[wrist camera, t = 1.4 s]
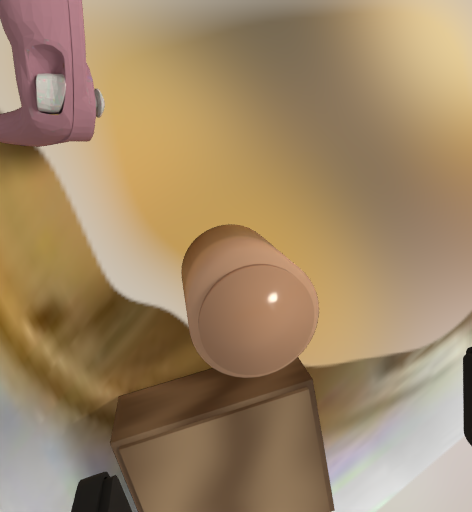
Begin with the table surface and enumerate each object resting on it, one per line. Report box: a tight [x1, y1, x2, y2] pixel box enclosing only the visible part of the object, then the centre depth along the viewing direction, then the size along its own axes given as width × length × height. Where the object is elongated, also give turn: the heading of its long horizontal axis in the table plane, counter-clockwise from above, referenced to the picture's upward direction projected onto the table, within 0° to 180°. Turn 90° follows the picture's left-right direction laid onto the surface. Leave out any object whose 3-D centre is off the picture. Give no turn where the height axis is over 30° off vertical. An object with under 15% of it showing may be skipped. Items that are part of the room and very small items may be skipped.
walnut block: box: [110, 357, 334, 512], centre depth 24 cm, size 12×11×4 cm
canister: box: [182, 225, 319, 378], centre depth 19 cm, size 6×6×7 cm
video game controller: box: [0, 0, 105, 147], centre depth 15 cm, size 10×5×7 cm, turn 0°
